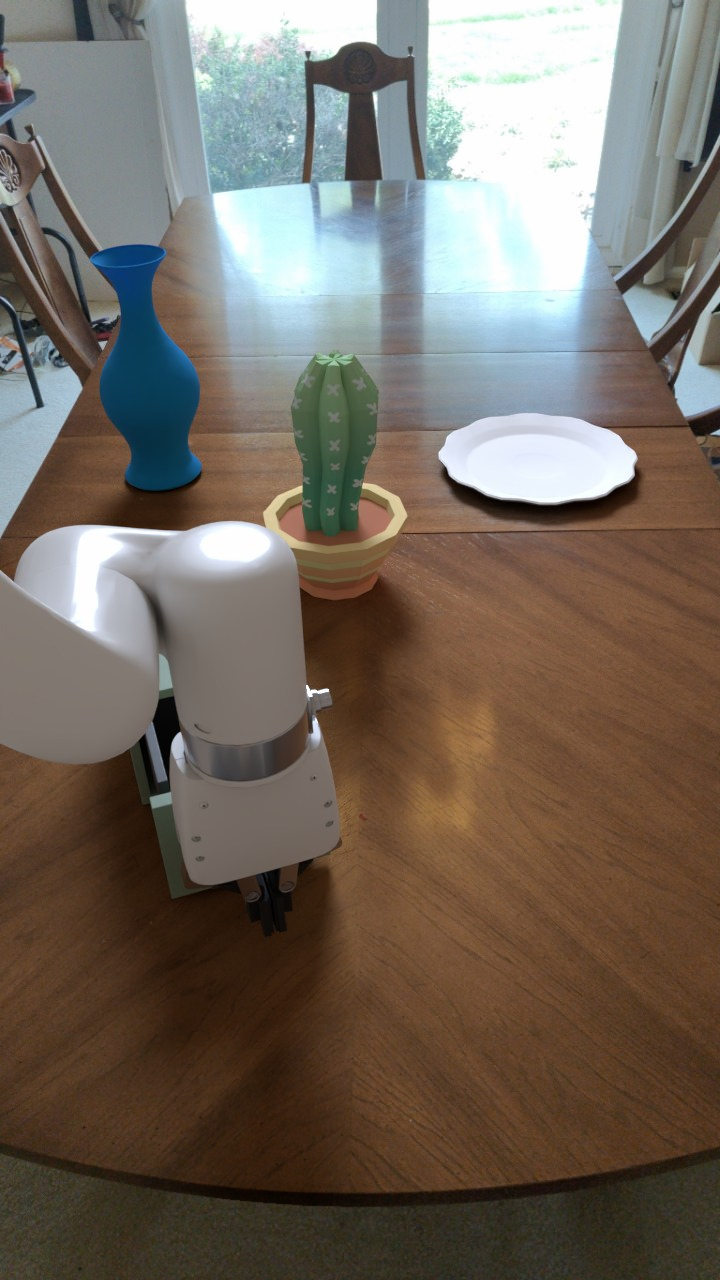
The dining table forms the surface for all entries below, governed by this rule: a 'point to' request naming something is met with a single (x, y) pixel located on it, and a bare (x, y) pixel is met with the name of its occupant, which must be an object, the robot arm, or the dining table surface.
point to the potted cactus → (336, 483)
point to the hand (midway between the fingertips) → (270, 917)
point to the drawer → (167, 793)
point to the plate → (538, 459)
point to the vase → (147, 376)
